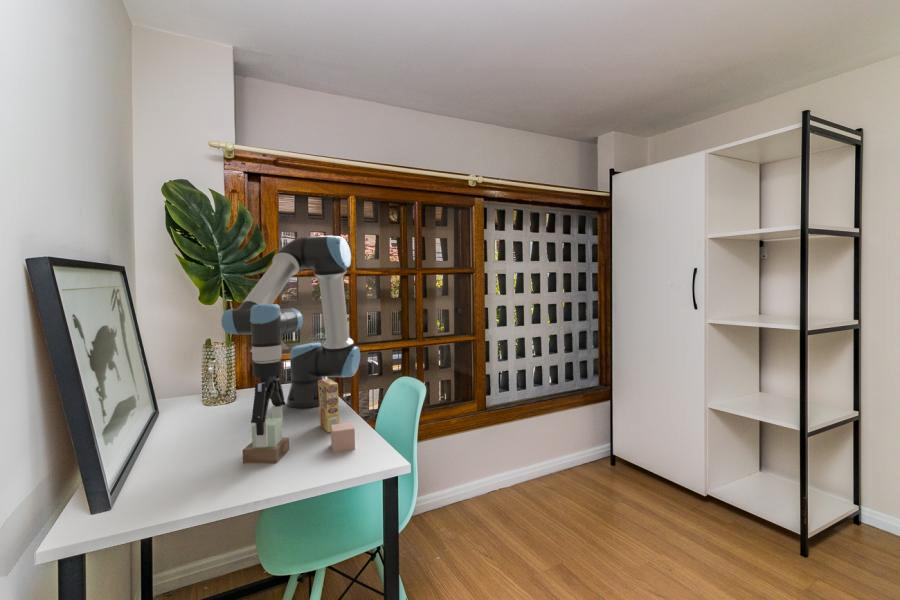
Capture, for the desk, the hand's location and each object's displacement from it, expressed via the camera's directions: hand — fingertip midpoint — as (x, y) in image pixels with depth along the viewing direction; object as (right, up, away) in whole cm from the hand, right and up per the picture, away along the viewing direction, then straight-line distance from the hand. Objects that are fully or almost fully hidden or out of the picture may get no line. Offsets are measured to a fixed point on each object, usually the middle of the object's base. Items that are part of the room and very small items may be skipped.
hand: (270, 437), depth 122 cm
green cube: (-1, -2, 0) cm, 2 cm away
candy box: (+10, -4, +22) cm, 25 cm away
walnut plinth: (-1, -6, 0) cm, 6 cm away
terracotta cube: (+19, -5, +6) cm, 20 cm away
